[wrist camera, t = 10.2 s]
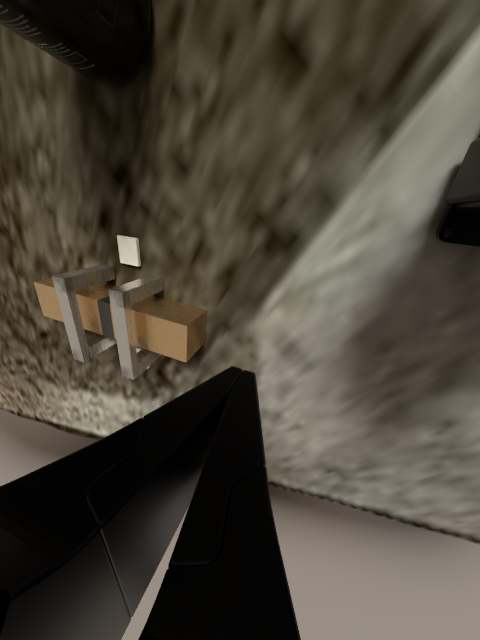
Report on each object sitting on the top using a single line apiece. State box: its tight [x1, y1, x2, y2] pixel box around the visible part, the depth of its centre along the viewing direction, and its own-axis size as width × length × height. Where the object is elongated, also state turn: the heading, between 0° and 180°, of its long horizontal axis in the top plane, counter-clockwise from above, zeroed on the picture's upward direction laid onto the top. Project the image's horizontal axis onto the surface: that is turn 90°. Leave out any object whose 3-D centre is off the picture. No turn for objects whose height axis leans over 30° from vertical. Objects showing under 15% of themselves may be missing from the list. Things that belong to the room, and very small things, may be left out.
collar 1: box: [52, 265, 117, 362], centre depth 21 cm, size 1×8×5 cm, turn 174°
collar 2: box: [108, 275, 164, 380], centre depth 20 cm, size 1×8×5 cm, turn 174°
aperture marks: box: [117, 235, 150, 369], centre depth 23 cm, size 2×14×1 cm, turn 173°
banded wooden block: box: [34, 278, 207, 362], centre depth 21 cm, size 16×4×4 cm, turn 82°
